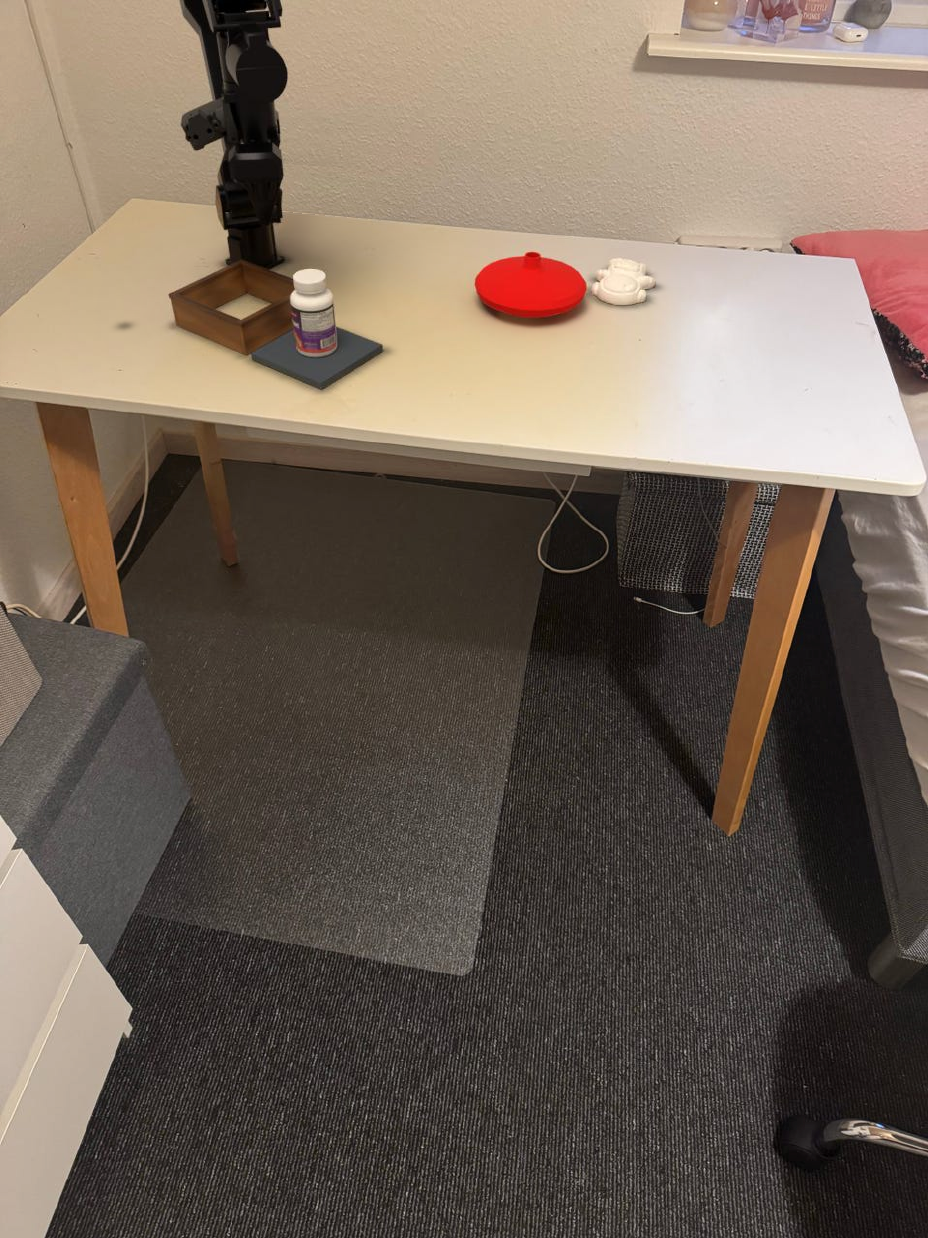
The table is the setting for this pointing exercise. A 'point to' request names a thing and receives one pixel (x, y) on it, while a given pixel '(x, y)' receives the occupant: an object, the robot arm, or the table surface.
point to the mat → (317, 358)
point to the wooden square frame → (225, 285)
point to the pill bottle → (313, 314)
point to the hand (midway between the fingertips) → (264, 210)
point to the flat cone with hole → (530, 286)
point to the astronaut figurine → (622, 282)
